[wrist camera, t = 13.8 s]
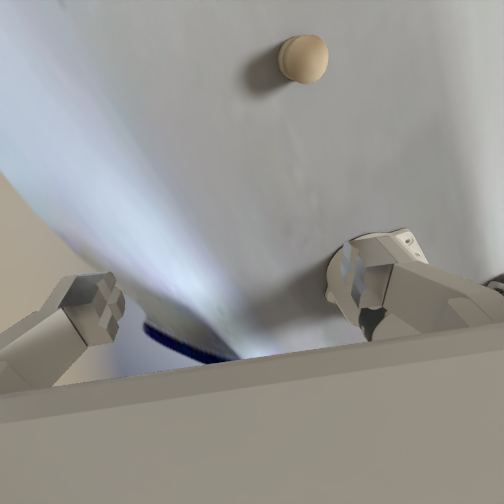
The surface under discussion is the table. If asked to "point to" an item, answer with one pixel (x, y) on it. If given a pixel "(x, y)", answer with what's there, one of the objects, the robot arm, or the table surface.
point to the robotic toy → (495, 285)
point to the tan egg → (303, 58)
